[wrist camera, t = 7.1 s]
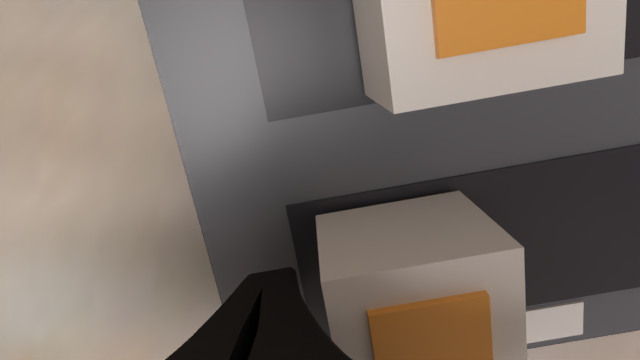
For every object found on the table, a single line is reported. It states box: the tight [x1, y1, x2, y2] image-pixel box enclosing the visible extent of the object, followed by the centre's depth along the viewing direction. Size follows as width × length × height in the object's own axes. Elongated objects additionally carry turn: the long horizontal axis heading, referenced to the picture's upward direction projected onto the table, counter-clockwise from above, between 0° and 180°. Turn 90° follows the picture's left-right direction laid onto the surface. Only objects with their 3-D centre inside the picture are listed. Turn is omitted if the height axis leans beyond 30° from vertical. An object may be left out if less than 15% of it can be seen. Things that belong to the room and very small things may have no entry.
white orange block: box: [315, 191, 527, 360], centre depth 10 cm, size 4×4×4 cm
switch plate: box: [138, 0, 640, 349], centre depth 12 cm, size 18×15×1 cm
